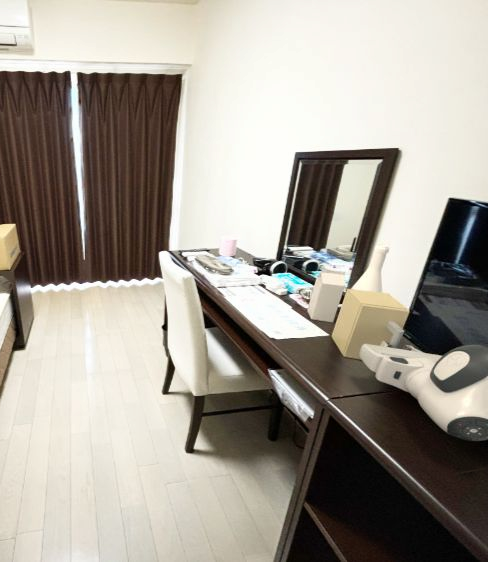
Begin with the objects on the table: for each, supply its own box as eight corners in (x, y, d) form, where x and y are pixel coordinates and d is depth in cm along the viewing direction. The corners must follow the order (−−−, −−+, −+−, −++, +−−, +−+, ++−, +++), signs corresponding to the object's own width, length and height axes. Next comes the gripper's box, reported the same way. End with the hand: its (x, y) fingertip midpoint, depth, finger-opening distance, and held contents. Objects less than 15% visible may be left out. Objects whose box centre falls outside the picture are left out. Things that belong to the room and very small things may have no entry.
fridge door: (396, 375, 86) (421, 320, 79) (350, 367, 89) (371, 313, 82) (385, 362, 91) (407, 309, 84) (343, 355, 94) (361, 303, 88)
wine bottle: (354, 317, 117) (381, 241, 106) (377, 330, 109) (410, 249, 97) (333, 318, 116) (358, 242, 104) (355, 332, 107) (385, 250, 96)
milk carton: (332, 323, 113) (348, 275, 106) (311, 319, 115) (325, 272, 108) (327, 314, 119) (341, 268, 112) (306, 311, 121) (319, 266, 114)
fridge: (384, 362, 91) (407, 309, 85) (342, 354, 95) (361, 303, 88) (369, 342, 101) (388, 293, 94) (331, 336, 104) (347, 288, 97)
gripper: (488, 376, 67) (447, 342, 80) (378, 357, 73) (356, 329, 85) (475, 398, 70) (437, 362, 82) (369, 378, 76) (349, 348, 88)
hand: (395, 345), depth 84 cm, fingers open, 4 cm apart
